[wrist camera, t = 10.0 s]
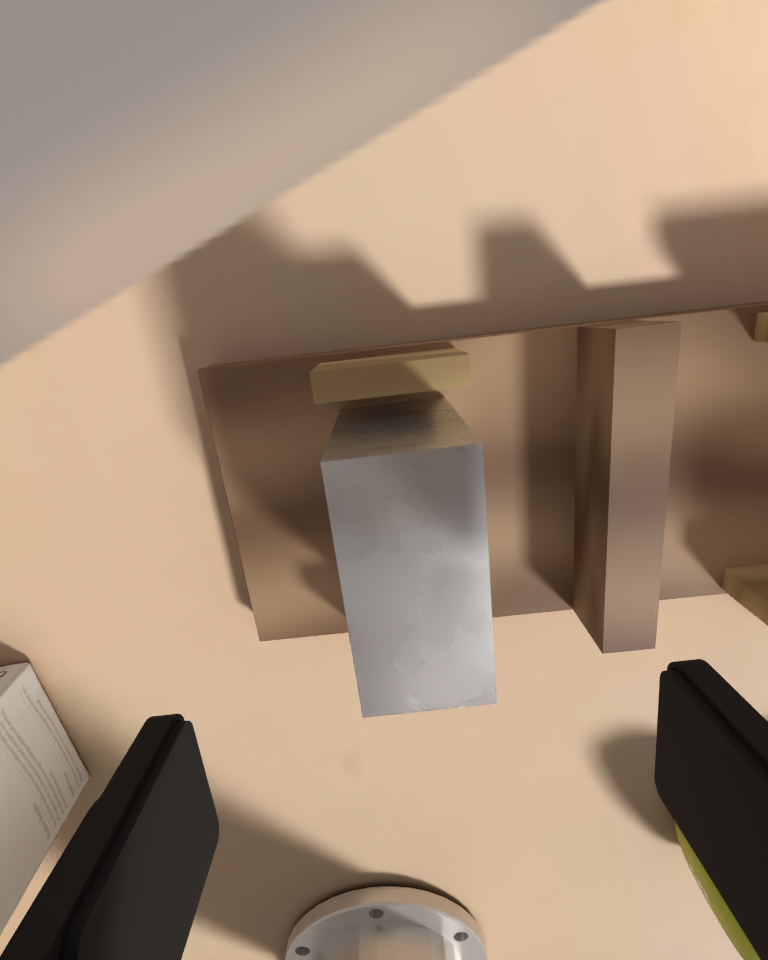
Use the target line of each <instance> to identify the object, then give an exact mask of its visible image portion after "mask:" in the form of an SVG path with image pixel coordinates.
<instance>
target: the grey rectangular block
mask: <svg viewBox="0 0 768 960" xmlns="http://www.w3.org/2000/svg"><path fill="white" fill-rule="evenodd" d="M320 464H321V470H322V476H323V482H324V488H325V494H326V500H327V506H328V512H329V518H330V524H331V530H332V536H333V542H334V548H335V554H336V560H337V566H338V572H339V578H340V584H341V590H342V596H343V602H344V608H345V614H346V620H347V626H348V632H349V638H350V644H351V650H352V656H353V662H354V668H355V674H356V680H357V686H358V692H359V698H360V704H361V710H362V716H363V718H365V717H374V716H384V715H393V714H403V713H412V712H421V711H431V710H440V709H450V708H459V707H469V706H478V705H487V704H497V697H496V679H495V661H494V642H493V624H492V606H491V588H490V569H489V551H488V533H487V514H486V496H485V478H484V460H483V443H482V442H481V441H480V439H479V438H478V437H477V436H476V435H475V433H474V432H473V431H472V430H471V428H470V427H469V426H468V425H467V424H466V422H465V421H464V420H463V419H462V417H461V416H460V415H459V414H458V413H457V411H456V410H455V409H454V408H453V407H452V405H451V404H450V403H449V402H448V400H447V399H446V398H445V397H439V398H431V399H422V400H414V401H406V402H398V403H389V404H381V405H373V406H364V407H356V408H348V409H340V410H339V413H338V416H337V419H336V421H335V424H334V427H333V429H332V432H331V435H330V437H329V440H328V443H327V445H326V448H325V451H324V454H323V456H322V459H321V462H320Z"/></svg>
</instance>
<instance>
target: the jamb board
mask: <svg viewBox="0 0 768 960" xmlns="http://www.w3.org/2000/svg"><path fill="white" fill-rule="evenodd" d="M198 373H199V377H200V381H201V386H202V390H203V395H204V399H205V403H206V408H207V412H208V416H209V421H210V425H211V430H212V434H213V438H214V443H215V447H216V452H217V456H218V460H219V465H220V469H221V473H222V478H223V482H224V487H225V491H226V495H227V500H228V504H229V508H230V513H231V517H232V522H233V526H234V530H235V535H236V539H237V544H238V548H239V552H240V557H241V561H242V565H243V570H244V574H245V579H246V583H247V587H248V592H249V596H250V601H251V605H252V609H253V614H254V618H255V622H256V627H257V631H258V636H259V640H260V641H269V640H279V639H288V638H298V637H308V636H317V635H327V634H337V633H346V632H348V626H347V620H346V614H345V608H344V602H343V596H342V590H341V584H340V578H339V572H338V566H337V560H336V554H335V548H334V542H333V536H332V530H331V524H330V518H329V512H328V506H327V500H326V494H325V488H324V482H323V476H322V470H321V464H320V462H321V459H322V456H323V454H324V451H325V448H326V445H327V443H328V440H329V437H330V435H331V432H332V429H333V427H334V424H335V421H336V419H337V416H338V413H339V410H340V409H348V408H356V407H364V406H373V405H381V404H389V403H398V402H406V401H414V400H422V399H431V398H439V397H445V398H446V399H447V400H448V402H449V403H450V404H451V405H452V407H453V408H454V409H455V410H456V411H457V413H458V414H459V415H460V416H461V417H462V419H463V420H464V421H465V422H466V424H467V425H468V426H469V427H470V428H471V430H472V431H473V432H474V433H475V435H476V436H477V437H478V438H479V439H480V441H481V442H482V443H483V460H484V478H485V496H486V514H487V533H488V551H489V569H490V588H491V606H492V617H501V616H511V615H521V614H530V613H540V612H550V611H559V610H569V609H573V610H574V611H575V613H576V614H577V616H578V617H579V619H580V620H581V622H582V623H583V625H584V626H585V628H586V629H587V631H588V632H589V634H590V635H591V637H592V638H593V640H594V641H595V643H596V644H597V646H598V647H599V649H600V650H601V652H602V653H603V654H604V653H614V652H624V651H634V650H643V649H653V648H655V642H656V630H657V618H658V606H659V600H666V599H676V598H685V597H695V596H705V595H714V594H724V593H728V594H729V595H730V596H731V597H733V598H734V599H735V600H736V601H738V602H739V603H740V604H741V605H743V606H744V607H745V608H746V609H748V610H749V611H750V612H752V613H753V614H754V615H755V616H757V617H758V618H759V619H760V620H762V621H763V622H764V623H765V624H767V625H768V302H763V303H754V304H746V305H737V306H728V307H720V308H711V309H702V310H693V311H685V312H676V313H667V314H659V315H650V316H641V317H632V318H624V319H615V320H606V321H598V322H589V323H580V324H571V325H563V326H554V327H545V328H537V329H528V330H519V331H511V332H502V333H493V334H484V335H476V336H467V337H458V338H450V339H441V340H432V341H423V342H415V343H406V344H397V345H389V346H380V347H371V348H362V349H354V350H345V351H336V352H328V353H319V354H310V355H301V356H293V357H284V358H275V359H267V360H258V361H249V362H240V363H232V364H223V365H214V366H209V367H206V368H203V369H200V370H198Z"/></svg>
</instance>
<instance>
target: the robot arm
mask: <svg viewBox="0 0 768 960" xmlns="http://www.w3.org/2000/svg"><path fill="white" fill-rule="evenodd" d="M655 784H656V788H657V791H658V793H659V796H660V798H661V799H662V801H663V803H664V804H665V806H666V808H667V809H668V811H669V812H670V814H671V816H672V817H673V819H674V821H675V822H676V824H677V825H678V827H679V829H680V830H681V832H682V833H683V835H684V837H685V838H686V840H687V842H688V843H689V845H690V846H691V848H692V850H693V851H694V853H695V854H696V856H697V858H698V859H699V861H700V863H701V864H702V866H703V867H704V869H705V871H706V872H707V874H708V875H709V877H710V879H711V880H712V882H713V884H714V885H715V887H716V888H717V890H718V892H719V893H720V895H721V896H722V898H723V900H724V901H725V903H726V905H727V906H728V908H729V909H730V911H731V913H732V914H733V916H734V917H735V919H736V921H737V922H738V924H739V926H740V927H741V929H742V930H743V932H744V934H745V935H746V937H747V938H748V940H749V942H750V943H751V945H752V947H753V948H754V950H755V951H756V953H757V955H758V956H759V958H760V959H761V960H768V722H767V721H766V720H765V719H764V718H763V717H762V716H761V715H760V714H759V713H758V712H757V711H756V710H755V709H754V708H753V707H752V706H751V705H750V704H749V703H748V702H747V701H746V700H745V699H744V698H743V697H742V696H741V695H740V694H739V693H738V692H737V691H736V690H735V689H734V688H733V687H732V686H731V685H730V684H729V683H728V682H727V681H726V680H725V679H724V678H723V677H722V676H721V675H719V674H718V673H717V672H716V671H715V670H714V669H713V668H712V667H711V666H710V665H709V664H708V663H707V662H706V661H704V660H701V659H697V660H687V661H678V662H671V663H670V664H669V665H668V668H667V671H662V673H661V675H660V687H659V705H658V723H657V741H656V759H655ZM218 836H219V822H218V818H217V814H216V810H215V806H214V803H213V799H212V795H211V792H210V788H209V784H208V780H207V777H206V773H205V769H204V765H203V762H202V758H201V754H200V751H199V747H198V743H197V739H196V736H195V732H194V728H193V725H192V723H191V722H190V721H184V718H183V716H182V715H181V714H172V715H162V716H153V717H150V718H148V719H147V721H146V722H145V723H144V725H143V727H142V728H141V730H140V732H139V733H138V735H137V737H136V738H135V740H134V742H133V743H132V745H131V747H130V748H129V750H128V752H127V753H126V755H125V757H124V758H123V760H122V762H121V763H120V765H119V767H118V768H117V770H116V772H115V773H114V775H113V777H112V778H111V780H110V782H109V783H108V785H107V787H106V788H105V790H104V792H103V793H102V795H101V797H100V798H99V799H98V800H97V801H96V802H95V803H94V804H93V805H92V807H91V808H90V809H89V811H88V813H87V814H86V816H85V817H84V819H83V821H82V822H81V824H80V826H79V827H78V829H77V831H76V832H75V834H74V836H73V837H72V839H71V841H70V842H69V844H68V846H67V847H66V849H65V851H64V852H63V854H62V855H61V857H60V859H59V860H58V862H57V864H56V865H55V867H54V869H53V870H52V872H51V874H50V875H49V877H48V879H47V880H46V882H45V884H44V885H43V887H42V888H41V890H40V892H39V893H38V895H37V897H36V898H35V900H34V902H33V903H32V905H31V907H30V908H29V910H28V912H27V913H26V915H25V917H24V918H23V920H22V921H21V923H20V925H19V926H18V928H17V930H16V931H15V933H14V935H13V936H12V938H11V940H10V941H9V943H8V945H7V946H6V948H5V950H4V951H3V953H2V955H1V956H0V960H181V958H182V955H183V952H184V948H185V945H186V942H187V939H188V936H189V932H190V929H191V926H192V923H193V920H194V916H195V913H196V910H197V907H198V904H199V900H200V897H201V894H202V891H203V888H204V884H205V881H206V878H207V875H208V872H209V868H210V865H211V862H212V859H213V855H214V852H215V849H216V846H217V842H218ZM285 960H488V957H487V951H486V945H485V939H484V937H483V934H482V931H481V929H480V927H479V925H478V924H477V923H476V921H475V920H474V919H473V917H472V916H471V915H470V914H469V913H467V912H466V911H465V910H464V909H463V908H462V907H460V906H459V905H457V904H456V903H454V902H452V901H450V900H449V899H447V898H445V897H442V896H440V895H437V894H434V893H432V892H429V891H425V890H420V889H415V888H410V887H398V886H380V887H368V888H363V889H358V890H352V891H349V892H346V893H343V894H340V895H337V896H334V897H332V898H330V899H328V900H326V901H324V902H322V903H321V904H319V905H317V906H316V907H314V908H313V909H312V910H311V911H309V912H308V913H307V914H305V915H304V916H303V917H302V918H301V920H300V921H299V922H298V923H297V924H296V926H295V927H294V928H293V931H292V933H291V935H290V937H289V939H288V944H287V949H286V955H285Z"/></svg>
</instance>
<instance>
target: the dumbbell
mask: <svg viewBox="0 0 768 960" xmlns="http://www.w3.org/2000/svg"><path fill="white" fill-rule="evenodd" d="M674 825H675V830H676V834H677V837H678V840H679V843H680V846H681V848H682V851H683V853H684V856H685V858H686V861H687V863H688V865H689V867H690V869H691V872H692V874H693V876H694V878H695V880H696V881H697V883H698V885H699V887H700V889H701V891H702V893H703V895H704V896H705V898H706V900H707V902H708V904H709V905H710V907H711V909H712V911H713V912H714V914H715V916H716V918H717V919H718V921H719V923H720V924H721V926H722V928H723V929H724V931H725V932H726V934H727V936H728V937H729V939H730V940H731V942H732V943H733V945H734V947H735V948H736V949H737V951H738V952H739V954H740V955H741V957H742V958H743V959H744V960H761V959H760V958H759V956H758V955H757V953H756V951H755V950H754V948H753V947H752V945H751V943H750V942H749V940H748V938H747V937H746V935H745V934H744V932H743V930H742V929H741V927H740V926H739V924H738V922H737V921H736V919H735V917H734V916H733V914H732V913H731V911H730V909H729V908H728V906H727V905H726V903H725V901H724V900H723V898H722V896H721V895H720V893H719V892H718V890H717V888H716V887H715V885H714V884H713V882H712V880H711V879H710V877H709V875H708V874H707V872H706V871H705V869H704V867H703V866H702V864H701V863H700V861H699V859H698V858H697V856H696V854H695V853H694V851H693V850H692V848H691V846H690V845H689V843H688V842H687V840H686V838H685V837H684V835H683V833H682V832H681V830H680V829H679V827H678V825H677V824H676V822H675V821H674Z"/></svg>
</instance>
